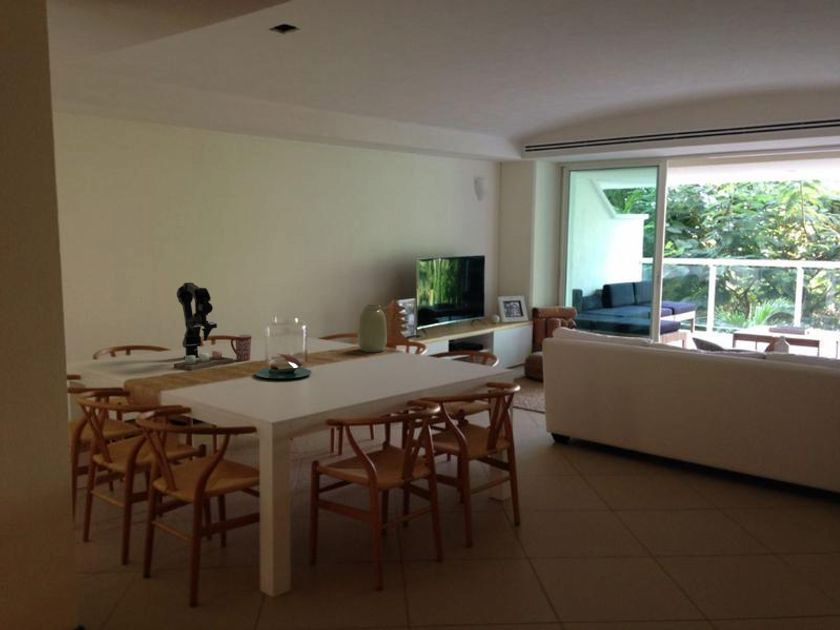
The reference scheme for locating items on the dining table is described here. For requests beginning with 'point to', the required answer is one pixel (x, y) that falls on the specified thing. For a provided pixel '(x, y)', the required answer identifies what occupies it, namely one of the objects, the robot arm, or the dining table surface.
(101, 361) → the dining table surface
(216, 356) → the button terracotta
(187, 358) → the button sage
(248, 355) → the mug
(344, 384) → the dining table surface
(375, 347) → the vase
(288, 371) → the dark teal dish
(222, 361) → the button board
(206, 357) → the button cream
